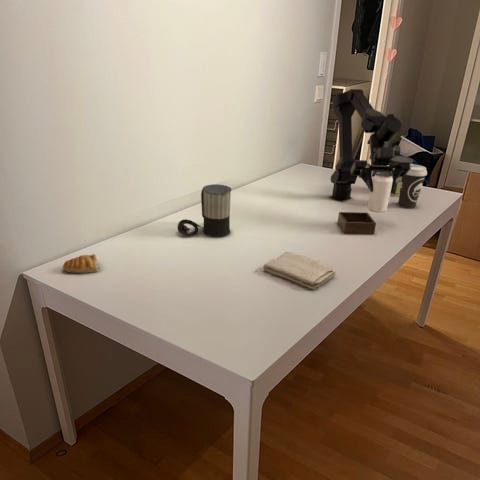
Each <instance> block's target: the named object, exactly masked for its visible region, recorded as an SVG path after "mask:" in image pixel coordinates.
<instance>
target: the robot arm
mask: <svg viewBox="0 0 480 480" xmlns="http://www.w3.org/2000/svg"><path fill="white" fill-rule="evenodd" d="M332 107H333V113H334V115H335V117H336V118H337V120H338V144H339V145H338V146H339V159H338V161H337V163H336V164H335V170H334V171H333V173H332V174H331V176H330V182H331V183H332V184H333V188H332V194H331V195H329V198H330V199H333V200H337V201H339V202H344V201H347V200H351V199H352V196H351V194H352V185H355V184H356V182H357V178H358V179H361V180H362V181H363V182H364V184H365V185H366V186H367V188H368V190H369V191H371V192H373V182H372V181H373V176H372V175H373V174H372V173H373V172H385V171H390V172H391V174H392V175H393V176H392V178H393V183H392V187H391V193H392V192H393V189H394V186H395V182H396V179H397V178H398V177H404V176H405V175H406V174H407V173H408V171H409V170H410V169H411V166H410V163H409V162H408V161H398V162H397V164H396V165H389V163H391V162H392V158H395V157H397V156H401V145H397V144H395V145H394V146H388V145H389V144H388V142H391V141H392V140H393V139H394V138H395V137H396V136H397V134H398V133H399V132H400V131H401V130H402V128H403V124H402V121H401V120H400V119H399V118H398V117H396V116H395V113H387V114H386V116H385V114H384V113H382V112H381V111H379V110H376V109H375V108H374V107H373V105H372V104H371V103H370V101H369V100H368V98H367V97H366V95H365V93H364V90H363V89H361V88H350V89H347V90H346V91H344V92H341V93H337V94H336V95H335V96H334V97H333V99H332ZM355 112H357V114H358V115H359V117H360V119H361V122H360V125H361V129H362V131H363V132H364V133H365V134H371V135H370V136H369V138H368V140H367V143H366V144H367V145H369V151H370V152H369V153H370V155H369V160H370V163H368V161H367V160H365V159H355V158H354V156H353V125H352V124H353V122H352V119H353V115H354V113H355Z"/></svg>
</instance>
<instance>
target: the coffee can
mask: <svg viewBox="0 0 480 480" xmlns="http://www.w3.org/2000/svg"><path fill="white" fill-rule="evenodd" d="M398 161H408V162H409V163H410V165H413V162H414V159H413V158H412V157H409V156H405V155H399V156H397V157H395V158H392V162H391V163H389V165H396V164H397V162H398ZM384 172H387V173H390V174H391V172H390V171H384ZM401 178H402V177H398V178H397V179H396V182H395V186H394V189H393V192H392V193H391V192H390V196H392V197H399V194H400V187H401Z"/></svg>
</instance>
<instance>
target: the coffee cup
mask: <svg viewBox="0 0 480 480" xmlns="http://www.w3.org/2000/svg"><path fill="white" fill-rule="evenodd" d="M410 166H411V169H410V170H409V171H408V173H407V174H406V175H405V176H404V177H402V178H401V187H400V194H399V196H398V207H401V208H404V209H415V208H416V205H417V202H418V199H419V196H420V193H421V190H422V187H423V184H424V181H425V178H426V176H427V175H428V171H427V167H425V166H423V165H420V164H412V165H410Z"/></svg>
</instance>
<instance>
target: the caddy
mask: <svg viewBox="0 0 480 480" xmlns="http://www.w3.org/2000/svg"><path fill="white" fill-rule="evenodd" d="M337 224H338V226H339V228H340V229H341V231H342V233H343V234H344V235H375V232H376V226H377V223H376V221H375V220H374V219H373V217H372V216H371V214H370V213H369V212H357V211H356V212H355V211H353V212H352V211H347V212H346V211H338V215H337Z"/></svg>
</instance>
